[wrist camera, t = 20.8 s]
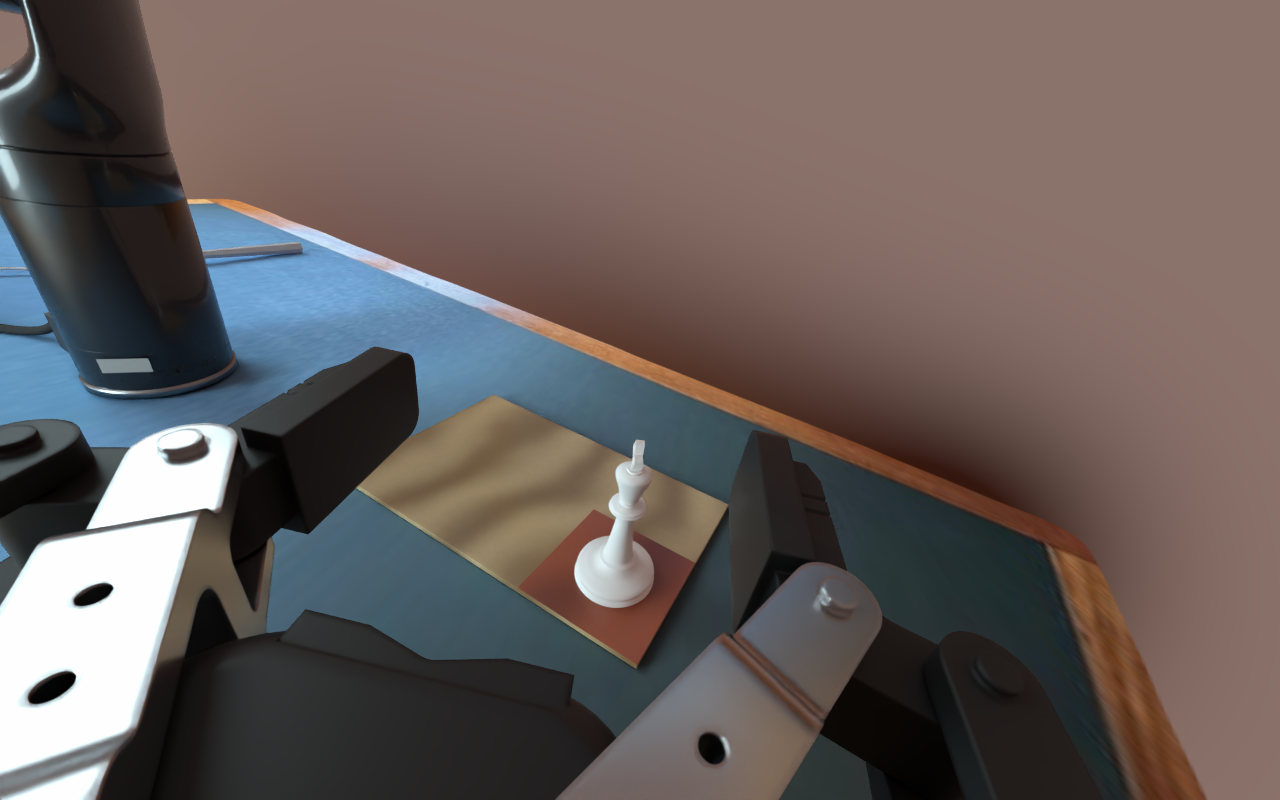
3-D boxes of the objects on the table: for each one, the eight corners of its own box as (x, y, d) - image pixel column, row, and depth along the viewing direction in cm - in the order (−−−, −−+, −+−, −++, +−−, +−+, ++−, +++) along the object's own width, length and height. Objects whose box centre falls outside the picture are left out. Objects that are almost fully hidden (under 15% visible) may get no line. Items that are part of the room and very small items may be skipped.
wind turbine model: (280, 246, 72) (-38, 268, 48) (277, 230, 71) (-50, 246, 47) (345, 275, 67) (25, 317, 43) (343, 259, 66) (14, 293, 42)
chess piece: (651, 545, 31) (682, 421, 26) (655, 611, 27) (693, 479, 22) (577, 538, 31) (594, 411, 26) (570, 605, 26) (589, 468, 21)
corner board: (339, 477, 32) (338, 472, 32) (494, 397, 44) (494, 393, 44) (636, 669, 24) (637, 664, 24) (727, 508, 36) (729, 503, 36)
